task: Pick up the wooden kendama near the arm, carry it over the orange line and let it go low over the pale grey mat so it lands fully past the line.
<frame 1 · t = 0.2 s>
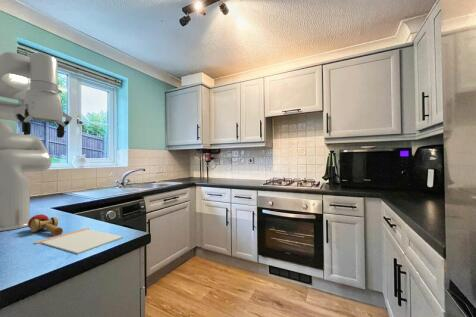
hand: (44, 136, 78), 36 cm above the countertop, tool pointing down, fingers open, 9 cm apart
throw line: (63, 235, 76), on the countertop
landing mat: (83, 240, 71), on the countertop
kendama: (46, 232, 80), on the countertop
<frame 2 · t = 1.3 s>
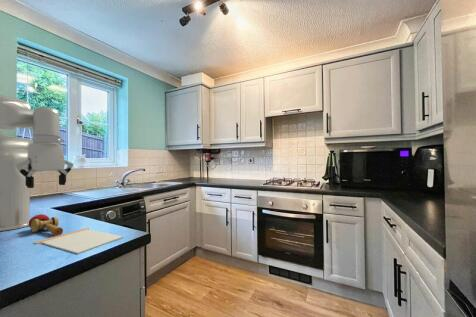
hand: (47, 186, 81), 17 cm above the countertop, tool pointing down, fingers open, 9 cm apart
nothing on the countertop moved.
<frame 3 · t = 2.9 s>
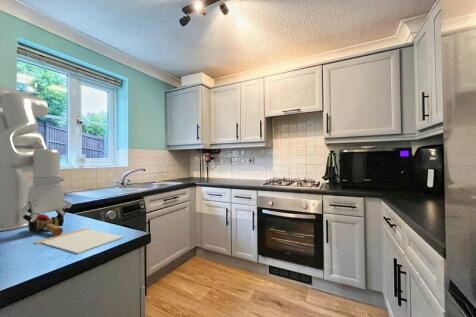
hand: (47, 228, 80), 1 cm above the countertop, tool pointing down, fingers closed on kendama, 7 cm apart
kendama: (47, 232, 80), on the countertop, touching gripper
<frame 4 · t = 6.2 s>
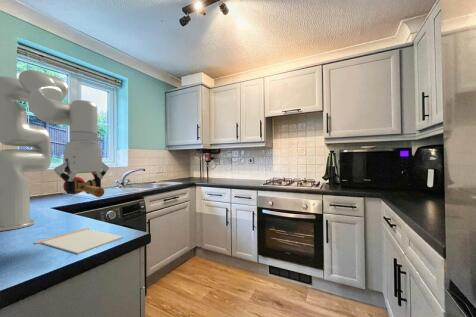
hand: (84, 191, 71), 16 cm above the countertop, tool pointing down, fingers closed on kendama, 7 cm apart
kendama: (84, 196, 70), point 15 cm above the countertop, touching gripper
when the fingers open (3 cm above the countertop, at t = 9.2 s): kendama drops 2 cm, resting on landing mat.
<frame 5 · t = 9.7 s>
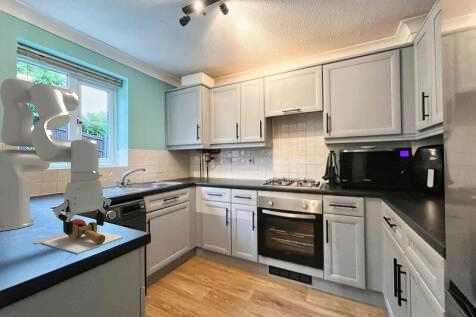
hand: (85, 229, 70), 4 cm above the countertop, tool pointing down, fingers open, 9 cm apart
kendama: (86, 240, 70), resting on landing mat
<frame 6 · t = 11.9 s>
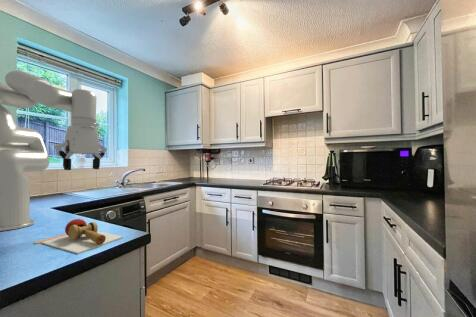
hand: (82, 169, 80), 23 cm above the countertop, tool pointing down, fingers open, 9 cm apart
nothing on the countertop moved.
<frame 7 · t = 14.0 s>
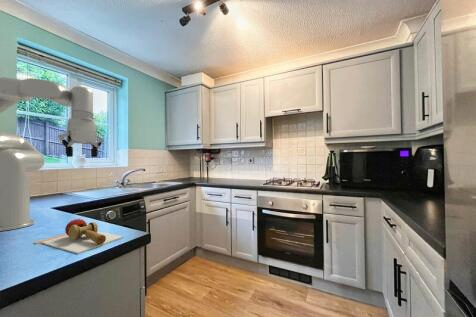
hand: (82, 156, 91), 28 cm above the countertop, tool pointing down, fingers open, 9 cm apart
nothing on the countertop moved.
at the end: kendama inside the target area (3.0 cm from its centre), resting on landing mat; the gripper is holding nothing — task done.
